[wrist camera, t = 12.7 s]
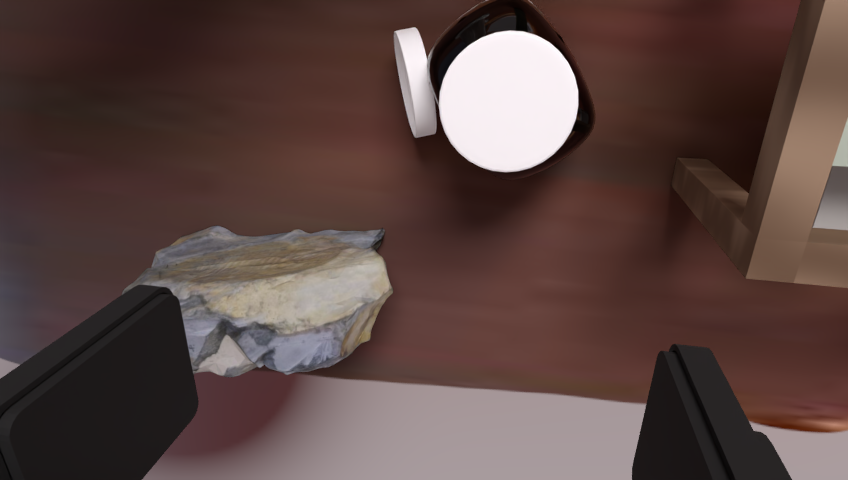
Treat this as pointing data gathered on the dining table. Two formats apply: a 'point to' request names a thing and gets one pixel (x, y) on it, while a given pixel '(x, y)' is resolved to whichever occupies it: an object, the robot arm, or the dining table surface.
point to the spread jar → (498, 89)
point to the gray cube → (834, 201)
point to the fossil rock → (273, 296)
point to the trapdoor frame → (786, 165)
